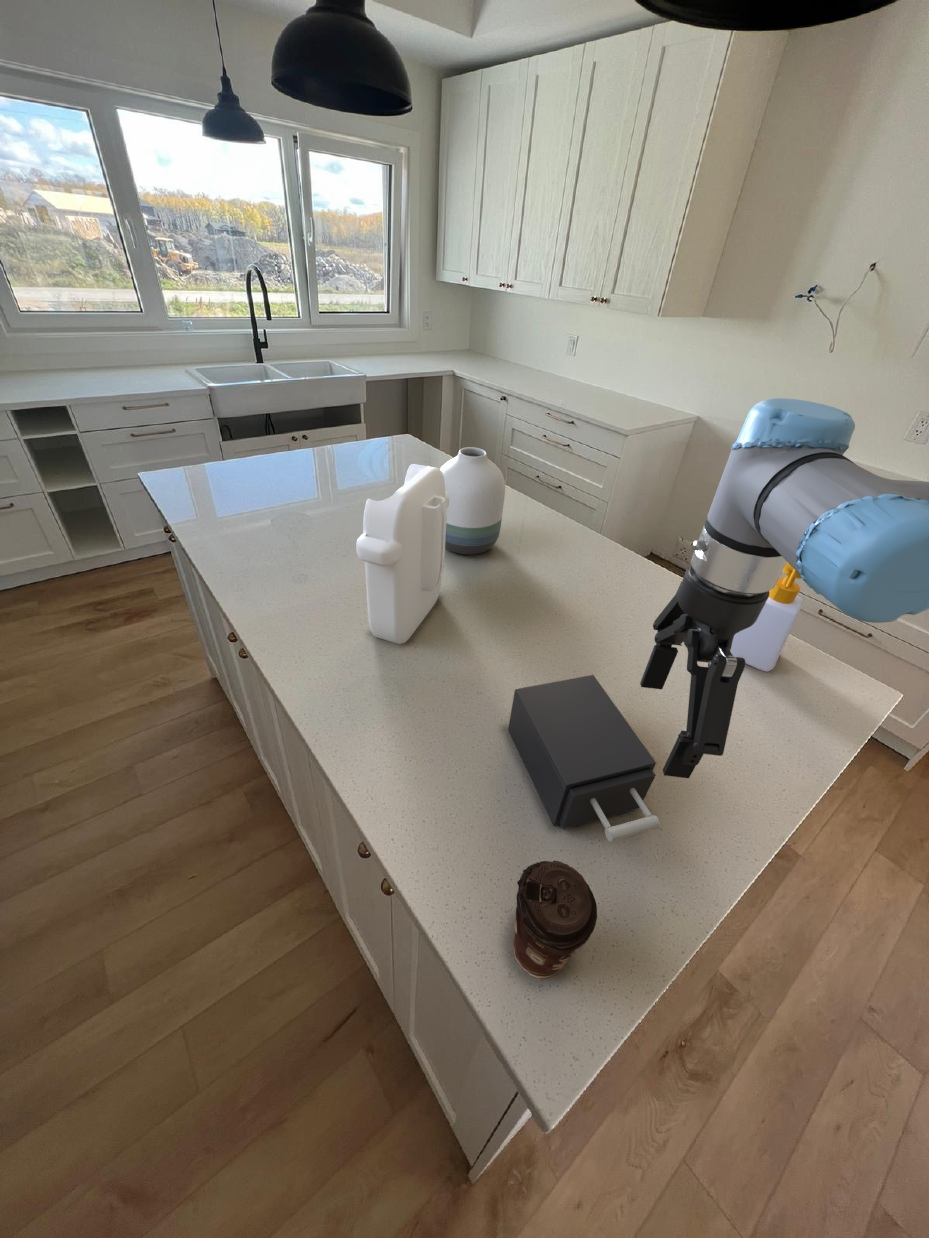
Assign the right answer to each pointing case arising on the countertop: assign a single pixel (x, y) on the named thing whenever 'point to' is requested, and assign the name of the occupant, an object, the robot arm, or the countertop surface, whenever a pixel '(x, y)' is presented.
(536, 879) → the coffee cup
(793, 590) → the soap bottle
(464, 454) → the vase
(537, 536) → the countertop surface
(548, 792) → the black drawer box
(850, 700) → the countertop surface
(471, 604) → the countertop surface
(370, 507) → the white jerry can
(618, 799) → the grey drawer with handle
